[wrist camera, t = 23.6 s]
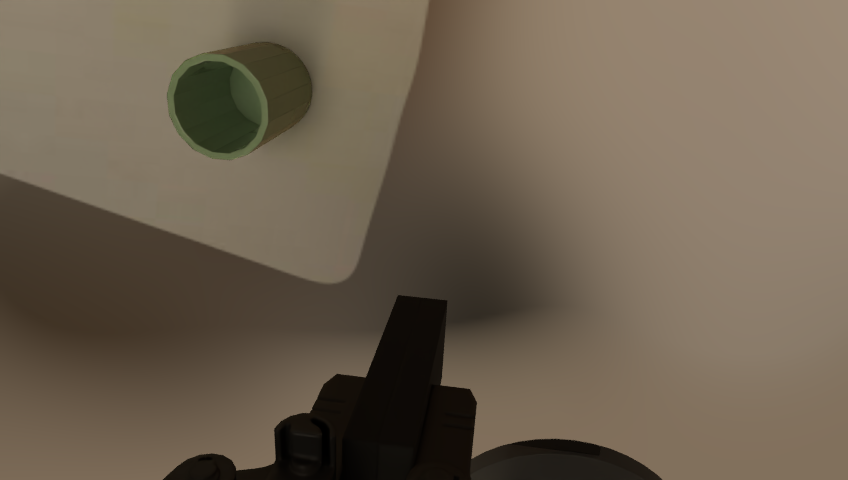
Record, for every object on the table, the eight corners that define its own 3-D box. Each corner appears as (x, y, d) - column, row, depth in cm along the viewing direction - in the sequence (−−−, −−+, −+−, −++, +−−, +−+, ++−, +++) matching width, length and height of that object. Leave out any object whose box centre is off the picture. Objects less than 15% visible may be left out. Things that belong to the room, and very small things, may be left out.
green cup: (312, 133, 43) (270, 163, 35) (231, 127, 43) (172, 155, 36) (311, 45, 41) (265, 57, 33) (225, 39, 41) (161, 50, 34)
